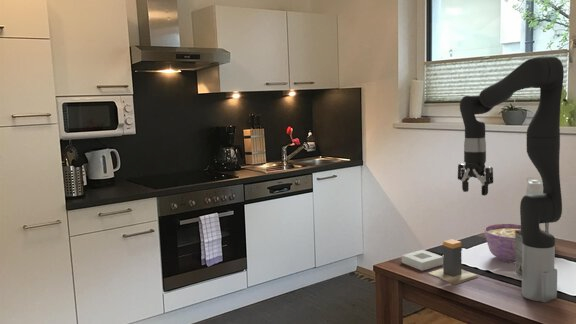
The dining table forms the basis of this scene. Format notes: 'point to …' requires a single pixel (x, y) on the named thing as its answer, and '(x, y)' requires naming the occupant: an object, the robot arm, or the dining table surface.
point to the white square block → (422, 259)
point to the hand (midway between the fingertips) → (474, 193)
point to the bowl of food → (502, 240)
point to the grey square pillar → (452, 257)
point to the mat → (455, 279)
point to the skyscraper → (536, 188)
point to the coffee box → (519, 252)
